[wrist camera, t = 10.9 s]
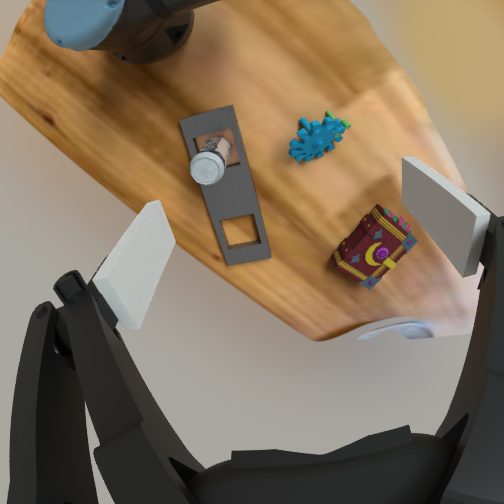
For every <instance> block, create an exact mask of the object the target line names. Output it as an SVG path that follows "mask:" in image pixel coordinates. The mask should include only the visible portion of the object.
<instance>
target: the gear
mask: <svg viewBox="0 0 504 504" xmlns="http://www.w3.org/2000/svg"><path fill="white" fill-rule="evenodd" d="M326 114H327V115H328V116H329V117H325V118H324V120H323V122H322V124H321V125H320V123H319V122H318V121H317V120H316V121H312V122H311V123H310V124H309V123H308V122H307V120H306V119H305V118H304V117H303V118H301V119H300V122H301V124H302V125H303V126H304V128H305V129H306V130H307V132H308V133H307V132H306V131H305V129H304V128H303V129H301V130H299V131H298V132H297V134H298V136H299V137H300V138H302V141H300V142H297V140H296V139H293V140H292V141H291V142H290V143H289V145H290V147H291V148H292V149H290V150H289V155H290V156H291V157H294V158H295V159H296V161H297V162H299V161H301V160H302V159H303V158H304V160H305V161H311V160H312V158H313V156H314V155H316V157H317V158H319V157H322V156H323V155H324V154H323V151H324V149H325V148H327V149H328V151H331V150H332V149H334V148H335V146H334V145H333V144H332V143H331V142H332V141H333V140H336V142H340V141H341V140H342V139H343V137H342V136H341V135H340V134H342V133H344V131H345V128H346V129H349V128H350V127H351V125H350V124H349V122H348V121H347V120H346V119H344V120H342V121H341V120H340V119H339V118H335V117H334V116H333V115H332V113H331V112H330V111H329V110H328V111H326ZM295 148H298V149H295Z"/></svg>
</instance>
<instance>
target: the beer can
mask: <svg viewBox="0 0 504 504" xmlns="http://www.w3.org/2000/svg"><path fill="white" fill-rule="evenodd" d="M230 155H231V146H230V144H229V142H228V141H227V140H226V139H224V138H222V137H212V138H210V139H209V140H208V141H207V142H206V143H205V144H204V146H203V147H202V149H201V150H200V151H199V152H198V154H197V155H196V156H195V157H194V158H193V159H192V160H191V162H190V167H189V168H190V174H191V176H192V178H193V179H194V180H195V181H196V182H198V183H200V184H203V185H212V184H215V183H217V182H218V181H219V180H220V179H221V178H222V176H223V174H224V171H225V169H226V166H227V163H228V160H229V158H230Z"/></svg>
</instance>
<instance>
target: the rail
mask: <svg viewBox="0 0 504 504" xmlns="http://www.w3.org/2000/svg"><path fill="white" fill-rule="evenodd" d="M179 121H180V125H181V128H182V131H183V134H184V137H185V140H186V143H187V147H188V150H189V153H190V156H191V159H193V158H194V157H195V156H196V155H197V154H198V152H199V151H200V150H201V149H202V147H203V146H204V144H205V143H206V142H207V141H208V140H209V139H210V138H212V137H222V138H224V139H226V140H227V141H228V142H229V144H230V146H231V155H230V158H229V160H228V163H227V165H229V166H226V169H225V171H224V174H223V176H222V178H221V179H220V180H219V181H218V182H217V183H215V184H212V185H203V184H200V186H201V189H202V192H203V195H204V198H205V201H206V204H207V207H208V210H209V213H210V216H211V219H212V222H213V225H214V227H215V230H216V233H217V236H218V239H219V242H220V245H221V247H222V250H223V253H224V256H225V259H226V262H227V264H228V266H229V265H234V264H240V263H246V262H251V261H257V260H262V259H268V258H272V257H271V250H270V246H269V242H268V238H267V234H266V230H265V226H264V222H263V218H262V214H261V210H260V206H259V202H258V198H257V194H256V190H255V186H254V182H253V178H252V174H251V170H250V167H249V163H248V159H247V155H246V151H245V147H244V144H243V140H242V136H241V132H240V129H239V125H238V121H237V117H236V114H235V110H234V106H233V105H229V106H225V107H221V108H218V109H214V110H210V111H207V112H203V113H200V114H196V115H193V116H190V117H187V118H183V119H181V120H179ZM195 140H196V141H195ZM196 143H197V144H196ZM197 147H198V148H197ZM198 150H199V151H198ZM236 163H237V164H236ZM232 164H233V165H232ZM249 214H254V216H255V220H256V224H257V228H258V232H259V235H260V239H261V240H256V241H251V242H245V243H240V244H235V245H230V246H229V243H228V240H227V237H226V234H225V231H224V228H223V225H222V222H221V220H224V219H229V218H234V217H239V216H244V215H249Z"/></svg>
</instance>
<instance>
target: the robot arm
mask: <svg viewBox="0 0 504 504" xmlns="http://www.w3.org/2000/svg"><path fill="white" fill-rule="evenodd" d="M217 1H220V0H48V1H47V3H46V6H45V11H44V26H45V30H46V33H47V35H48V37H49V38H50V40H51V41H52V42H53V43H55V44H56V45H58V46H60V47H63V48H70V49H74V50H76V51H83V50H103V51H111V52H112V53H113V54H114V55H115V56H116V57H118V58H119V59H121V60H123V61H126V62H129V63H137V64H148V63H154V62H157V61H160V60H162V59H165V58H167V57H168V56H170V55H172V54H173V53H174V52H176V51H177V50H178V49H179V48H180V47H181V46H182V45H183V44H184V43H185V41H186V40H187V38H188V37H189V35H190V33H191V30H192V27H193V23H194V11H193V9H196V8H198V7H201V6H204V5H207V4H210V3H213V2H217ZM402 204H403V206H404V207H405V208H406V209H407V210H408V211H409V212H410V213H411V214H412V215H413V217H414V218H415V219H416V220H417V221H418V222H419V223H420V225H421V226H422V227H423V228H424V229H425V230H426V232H427V233H428V234H429V235H430V236H431V237H432V239H433V240H434V241H435V242H436V244H437V245H438V246H439V247H440V249H441V250H442V251H443V252H444V254H445V255H446V256H447V257H448V259H449V260H450V261H451V263H452V264H453V265H454V267H455V268H456V269H457V271H458V272H459V273H460V275H461V276H462V278H463V277H467V276H470V275H474V274H476V272H477V268H478V265H479V262H481V264H482V265H483V266H484V270H483V273H482V276H481V279H480V282H479V285H478V288H477V289H478V290H480V294H479V300H478V306H477V312H476V317H475V322H474V327H473V332H472V336H471V340H470V344H469V348H468V352H467V356H466V359H465V363H464V367H463V370H462V373H461V376H460V380H459V383H458V385H457V389H456V391H455V394H454V397H453V400H452V402H451V405H450V408H449V410H448V413H447V415H446V417H445V419H444V421H443V422H442V424H441V426H440V427H439V429H438V431H437V432H436V434H435V436H434V435H429V434H420V433H411V431H410V427H409V425H406V426H403V427H399V428H396V429H393V430H388V431H385V432H381V433H377V434H373V435H368V436H366V437H364V438H362V439H360V440H358V441H355V442H353V443H351V444H349V445H346V446H344V447H342V448H340V449H337V450H335V451H332V452H329V453H327V454H323V455H316V454H306V453H298V452H290V451H283V450H276V449H271V450H248V451H247V450H246V451H232V453H231V460H227V461H224V462H221V463H218V464H216V465H214V466H211V467H209V468H208V469H205V468H204V467H203V466H202V465H201V464H200V463H199V462H198V461H197V460H196V459H195V458H194V457H193V456H192V455H191V454H190V452H189V451H188V450H187V448H186V447H185V446H184V444H183V443H182V441H181V440H180V438H179V437H178V435H177V434H176V433H175V431H174V429H173V428H172V426H171V425H170V423H169V422H168V420H167V419H166V417H165V416H164V414H163V413H162V411H161V409H160V408H159V406H158V404H157V403H156V401H155V399H154V398H153V396H152V394H151V392H150V391H149V389H148V387H147V386H146V384H145V382H144V380H143V379H142V377H141V375H140V373H139V371H138V369H137V367H136V365H135V363H134V362H133V360H132V358H131V356H130V354H129V352H128V350H127V348H126V346H125V344H124V341H123V339H122V337H121V335H120V333H119V332H118V330H117V329H116V328H115V327H116V324H117V322H118V321H119V322H120V323H121V325H122V326H123V328H124V329H125V330H135V329H140V327H141V325H142V322H143V320H144V317H145V314H146V312H147V309H148V307H149V304H150V302H151V299H152V297H153V294H154V292H155V289H156V287H157V284H158V282H159V280H160V277H161V275H162V273H163V270H164V268H165V265H166V263H167V261H168V259H169V256H170V254H171V252H172V250H173V248H174V245H175V243H176V241H175V238H174V236H173V233H172V231H171V228H170V226H169V223H168V221H167V218H166V215H165V213H164V210H163V208H162V205H161V202H160V200H156V201H152V202H148V203H147V204H146V205H145V206H144V208H143V209H142V210H141V212H140V213H139V214H138V215H137V217H136V218H135V219H134V221H133V222H132V224H131V225H130V226H129V228H128V229H127V230H126V231H125V233H124V234H123V236H122V237H121V238H120V240H119V241H118V243H117V244H116V245H115V247H114V248H113V250H112V251H111V252H110V254H109V255H108V256H107V257H106V258H105V259H104V260H103V262H102V263H101V266H99V268H98V269H97V272H95V274H94V275H93V277H92V278H91V280H90V281H89V283H88V285H87V284H86V283H85V281H84V280H83V278H82V276H81V275H80V273H79V272H78V271H77V270H73V271H70V272H68V273H66V274H64V275H63V276H62V277H60V278H59V279H58V281H57V282H56V283H55V285H54V288H53V289H54V291H55V292H56V294H57V295H58V297H59V298H60V300H61V301H62V302H63V304H64V306H62V307H60V308H57V309H55V307H54V306H53V304H52V303H51V302H50V301H47V302H44V303H42V304H39V305H38V307H36V308H35V310H34V311H33V313H32V315H31V318H30V321H29V325H28V328H27V332H26V336H25V340H24V344H23V349H22V353H21V358H20V362H19V367H18V373H17V378H16V384H15V391H14V399H13V406H12V416H11V429H10V484H9V491H8V499H7V504H99V503H98V498H97V492H96V487H95V482H94V477H93V471H92V465H91V459H90V452H89V445H88V437H87V427H86V415H85V402H86V405H87V408H88V411H89V414H90V417H91V420H92V423H93V426H94V429H95V431H96V434H97V436H98V439H99V442H100V446H99V447H96V448H95V449H94V452H93V454H94V458H95V461H96V464H97V466H98V469H99V471H100V473H101V475H102V478H103V480H104V482H105V484H106V486H107V489H108V491H109V493H110V495H111V497H112V499H113V501H114V503H115V504H504V216H502V217H497V216H496V215H494V214H493V213H492V212H491V211H490V210H489V209H488V208H486V207H485V206H483V204H482V203H480V202H478V200H477V199H475V198H474V197H473V196H472V195H470V194H468V193H466V192H464V191H463V190H461V189H460V188H459V187H457V186H456V185H455V184H453V183H452V182H451V181H449V180H448V179H447V178H445V177H444V176H442V175H441V174H440V173H438V172H437V171H435V170H434V169H432V168H431V167H429V166H428V165H426V164H425V163H423V162H422V161H420V160H419V159H417V158H416V157H414V156H410V157H402ZM55 350H56V351H57V353H56V351H55ZM84 399H85V400H84Z"/></svg>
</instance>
